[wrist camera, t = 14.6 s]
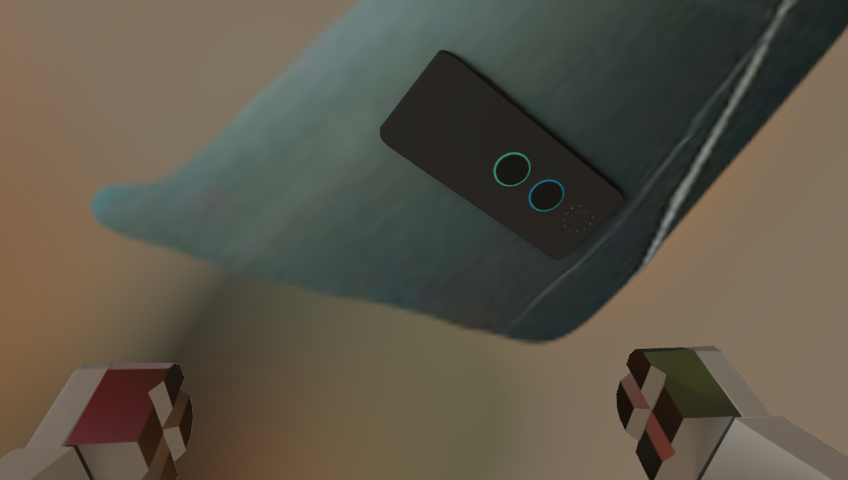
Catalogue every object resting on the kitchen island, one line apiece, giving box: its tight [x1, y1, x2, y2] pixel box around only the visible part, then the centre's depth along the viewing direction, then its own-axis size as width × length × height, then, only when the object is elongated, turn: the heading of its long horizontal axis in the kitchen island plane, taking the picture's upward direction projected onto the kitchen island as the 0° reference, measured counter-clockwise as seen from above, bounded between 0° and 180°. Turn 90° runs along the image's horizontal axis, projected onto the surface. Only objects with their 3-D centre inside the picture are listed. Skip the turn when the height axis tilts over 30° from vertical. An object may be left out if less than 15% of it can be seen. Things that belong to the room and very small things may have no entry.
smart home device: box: [380, 50, 624, 260], centre depth 42 cm, size 8×2×20 cm
